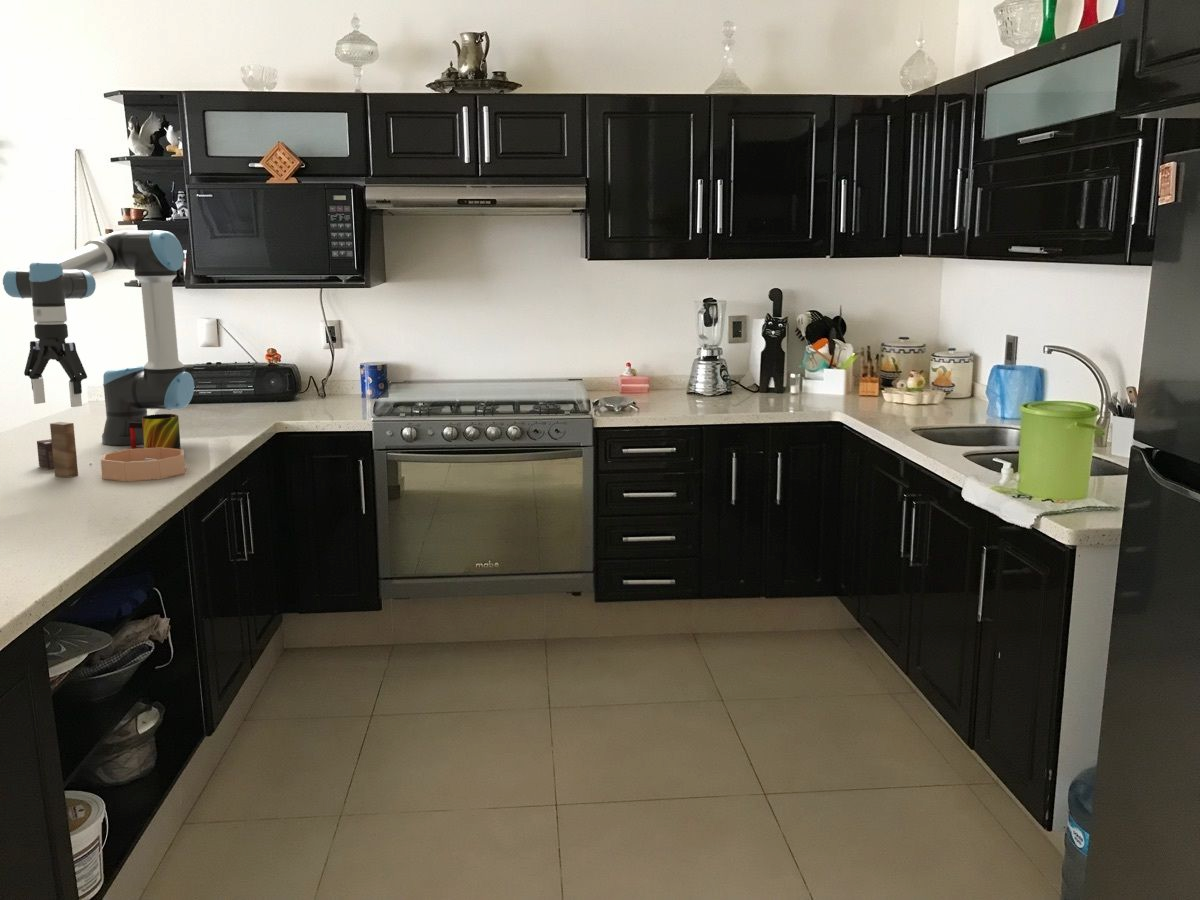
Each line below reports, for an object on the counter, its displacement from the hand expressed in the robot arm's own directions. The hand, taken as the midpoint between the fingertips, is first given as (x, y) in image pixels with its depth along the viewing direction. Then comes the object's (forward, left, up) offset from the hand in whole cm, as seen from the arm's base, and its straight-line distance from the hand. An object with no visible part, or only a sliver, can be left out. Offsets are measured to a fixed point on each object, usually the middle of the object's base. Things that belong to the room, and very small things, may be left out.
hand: (58, 405), depth 266 cm
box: (-7, -13, -19) cm, 24 cm away
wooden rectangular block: (0, 0, -19) cm, 19 cm away
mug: (-28, +2, -19) cm, 34 cm away
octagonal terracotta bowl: (-11, +16, -19) cm, 27 cm away
